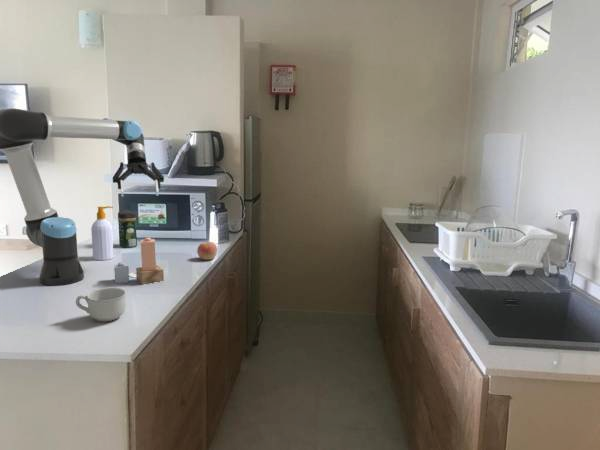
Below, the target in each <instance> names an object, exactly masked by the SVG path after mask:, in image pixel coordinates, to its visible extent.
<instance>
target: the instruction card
mask: <svg viewBox="0 0 600 450" xmlns="http://www.w3.org/2000/svg"><path fill="white" fill-rule="evenodd" d="M129 278H137V275H136V271H134V272H129Z"/></svg>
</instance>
